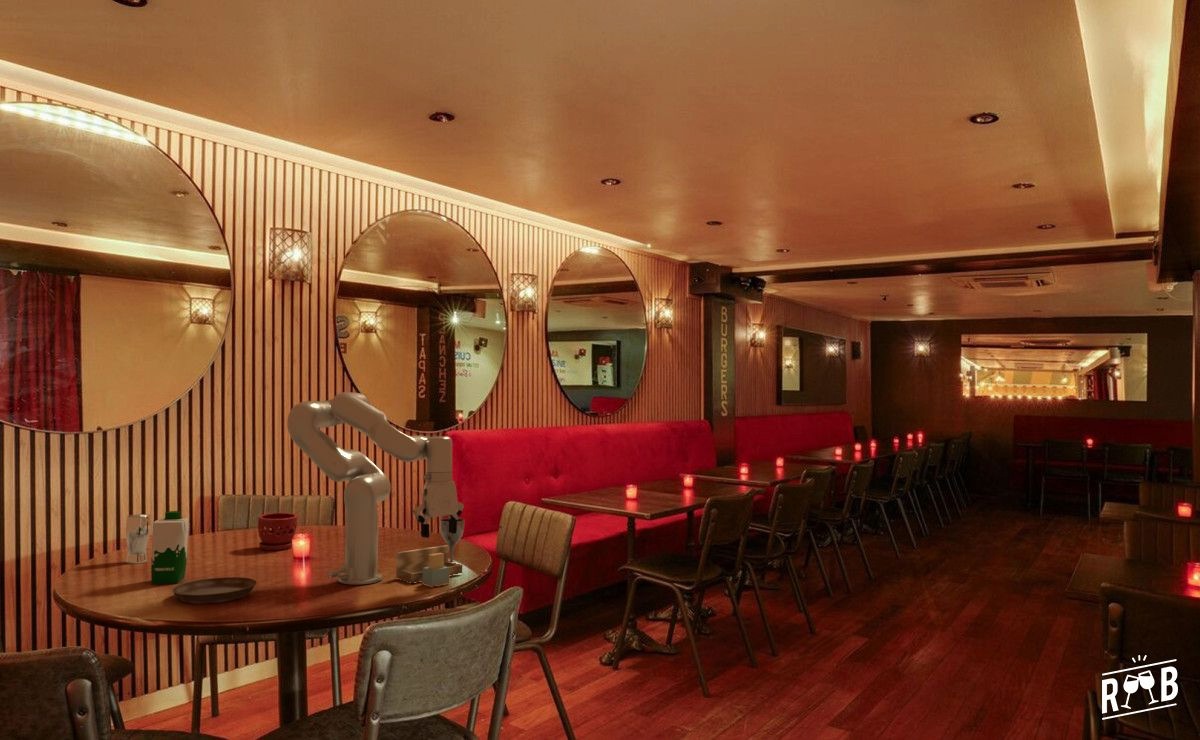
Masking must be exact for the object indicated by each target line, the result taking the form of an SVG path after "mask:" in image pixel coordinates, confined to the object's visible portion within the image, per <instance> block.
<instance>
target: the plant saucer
mask: <svg viewBox="0 0 1200 740" xmlns="http://www.w3.org/2000/svg"><path fill="white" fill-rule="evenodd" d="M257 583H258V582H257V580H256V579H253V578H249V577H242V576H241V577H240V576H239V577H237V576H228V577H226V576H225V577H224V576H222V577H213V578H206V579H205V578H204V579H198V580H197V579H196V580H194V581H193V580H192V581H188V582H184V583H181V584H178V585H176V586H175V587H173V588H171V589H172V590H171V591H172V594H174V595H175V597H176V598H177V599H179V600H180V601H182V602H184V603H187V604H188V603H189V604H196V605H197V604H199V605H200V604H201V605H202V604H203V605H206V604H217V603H226V602H230V601H235V600H238V599H241V598H243V597H245V596H247V595H248V594H249V593H250V592H251V591H252V590H253V589H254V588H255V586H256V585H257Z"/></svg>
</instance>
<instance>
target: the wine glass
mask: <svg viewBox="0 0 1200 740" xmlns="http://www.w3.org/2000/svg"><path fill="white" fill-rule="evenodd" d="M449 519H451V518H450V517H445V518H441V519H440V521H439V522H440V523H439V525H440V526H439V527H440V533H441V537H442V539H443V540H444V541H445V543H446V545H448V546H449V553H450V554H449V556H450V558H449V560H448V561H449V562H455V561H454V560H453V556H454V549H455V546H456V545H457V543H458V542H459V541H460V539H461V538H463V534H464V530H465V518H462V517H459V519H458V520H457V532H456V533H455V534H454V533H449Z"/></svg>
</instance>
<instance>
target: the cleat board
mask: <svg viewBox="0 0 1200 740" xmlns="http://www.w3.org/2000/svg"><path fill="white" fill-rule="evenodd" d="M435 553H443V554H444V566H446V567H449V575H453V574H458V573H462V574H463V564H462V565H460V564H456V563H452V562H449V561H450V560H449V556H450V554H449V553H450V548H449V545H448V544H444V545H438V546H431V547H425V548H418V549H412V550H404V551H398V552H396V567H395V568H396V571H395V572H396V573H395V574H396V576H395V579H396V578H399V579H401V580H400V581H402V580H405V581H408V582H411V583H414V582H419V581H422V580H423V568H424V567H429V554H435ZM405 581H404V582H405ZM408 582H407V583H408ZM411 583H410V584H411Z"/></svg>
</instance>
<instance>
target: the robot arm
mask: <svg viewBox="0 0 1200 740" xmlns="http://www.w3.org/2000/svg"><path fill="white" fill-rule="evenodd" d="M387 419H388V418H387V414H385V412H383V411H381V410H379V409H378V408H377V407H375V406H374V405H371V404H370V401H369V400H368V397H366V396H365V395H364V394H362V393H359V392H353V391H352V392H351V391H349V392H348V391H343V392H339V393H337V394H336V395H335V396H333V397H332V399H328V400H317V401H316V400H307V401H301V402H299V403H296V404H295V405H294V406H293V407H292V408H291V409H290V410H289V412H288V416H287V421H286V422H287V424H286V426H287V431H288V434H289V436H290V439H291V440H292V441H293V443H294V444H295V445H296V446H297V447H298V448H299V449H300V450H301V451H302V452H303V453H304V454H306V456H307V457H308V458H309V459H310V460H311V461H312V462H313V463H314V464H315V465H316V466H317V467H318V468H319V469H320V470H321V471H322V472H323V473H324V474H325V475H326V477H328V479H330V480H331V481H333V482H337V483H338V482H339V483H340V482H347V481H348V482H347V484H346V485H345V488H344V491H343V499H344V500H343V501H344V507H345V508H344V509H345V538H344V539H345V540H344V541H345V542H344V565H341V566H340V568H339V569H338V570H329V571H328V578H330V579H332V578H338V582H339V583H341V584H344V585H353V586H356V585H357V586H358V585H371V584H374V583H379V582H380V581H381V580H383V575H382V574H381V573H379V572H378V559H379V558H378V551H379V549H378V548H379V526H380V525H379V521H380V520H379V510H378V506H377V504H379V503H382V502H383V501H385V500H386V499H388V497H389V496H390V494H391V489H392V487H391V482H390V480H389V478H388V476H387V475H386V474H385V473H384V472H383V471H382V470H381V469H380V468H379V467H378V466H377V465H376V464H375V463H374V462H372V460H371V459H369V457H367V455H365V454H364V453H363V452H361V451H359V450H357V449H344V448H342V447H341V446H340V445H338V444H337V443H336V442H335V441H334V440H333V438H331V436H330V435H328V434H326V433H325V432H323V430H321V429H325V428H330V427H333V426H338V425H342V424H347V425H348V426H350V427H351V428H354V429H355V430H357V431H358V432H360V433H362V434H363V435H365V436H367V437H368V438H369V439H370V440H371V442H372V443H373V444H375V446H377V447H378V448H379V449H380V450H382V451H383V452H385V453H386V454H389V455H390V456H391V457H394V458H395V459H397V460H399V461H401V462H405V463H410V462H415V461H416V462H417V461H422V460H426V473H425V474H424V475H422V476H423V477H422V478H423V480H425V481H426V482H425V483H424V485H423V492H422V499H421V503H420V504H419V505H418V506H417V507H415V508H413V511H412V513H413V514H414V516H415V519H416V520H417V521H418V523H419V524H420V535H421V538H426V539H428V538H429V537H430V523H429V521H430V520H431V519H432V518H440V517H447V516H448V518H451V519H449V533H454V534H455V533H456V532H457V520H458V519H459V518H460V516H461V514H462V512H463V510H464V507H465V505H464V503H462V502H460V501H459V500H458V495H457V487H456V482H455V481H454V480H453V440H452V438H451V437H450V436H446V435H443V436H440V435H439V436H438V435H437V436H436V435H435V436H427V435H407V434H405V433H403V432H402V431H400V430H398V429H397V428H396V427H394V426H393V425H391V424H390V422H389V421H388V420H387ZM421 513H422V515H421Z"/></svg>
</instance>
